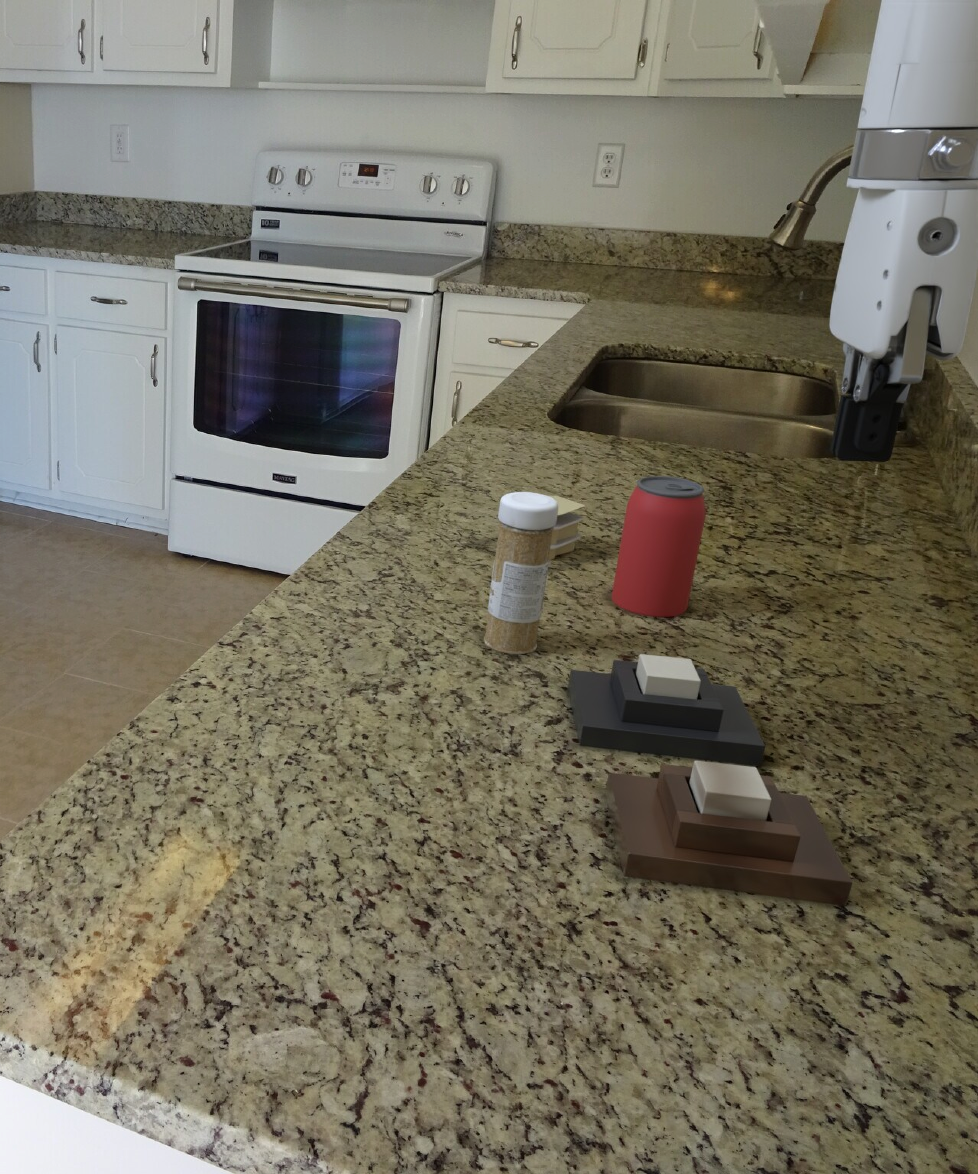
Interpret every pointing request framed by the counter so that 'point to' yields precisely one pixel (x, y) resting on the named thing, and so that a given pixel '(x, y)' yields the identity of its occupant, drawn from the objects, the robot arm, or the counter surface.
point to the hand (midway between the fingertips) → (859, 457)
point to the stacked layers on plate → (565, 527)
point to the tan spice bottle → (520, 571)
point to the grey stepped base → (662, 718)
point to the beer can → (659, 546)
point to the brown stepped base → (723, 841)
